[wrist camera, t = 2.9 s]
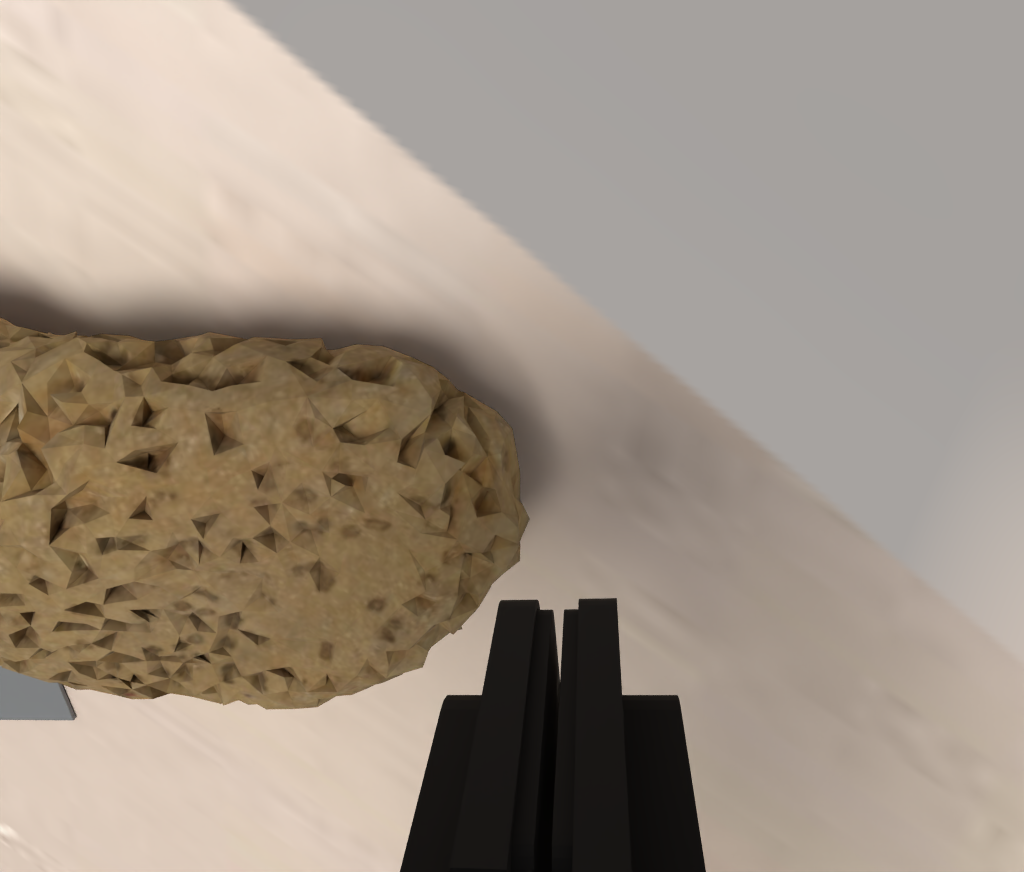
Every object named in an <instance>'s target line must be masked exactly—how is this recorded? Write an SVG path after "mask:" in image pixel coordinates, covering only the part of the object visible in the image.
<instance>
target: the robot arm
mask: <svg viewBox="0 0 1024 872" xmlns="http://www.w3.org/2000/svg"><path fill="white" fill-rule="evenodd" d="M400 872H706V870H705V863H704V857H703V850H702V844H701V837H700V831H699V824H698V818H697V811H696V804H695V798H694V791H693V785H692V778H691V772H690V765H689V759H688V752H687V746H686V739H685V733H684V726H683V720H682V713H681V707H680V702H679V698H678V695H622V686H621V668H620V650H619V632H618V613H617V598H610V599H579V607H578V609H571V610H564V622H563V641H562V660H561V679H560V677H559V666H558V655H557V644H556V633H555V622H554V613H553V610H540V606H539V601H538V600H501V601H500V603H499V606H498V612H497V617H496V622H495V628H494V633H493V638H492V644H491V649H490V654H489V660H488V665H487V670H486V676H485V681H484V686H483V692H482V695H447V696H446V698H445V699H444V701H443V704H442V707H441V711H440V715H439V719H438V723H437V727H436V731H435V735H434V739H433V743H432V747H431V751H430V755H429V759H428V763H427V767H426V771H425V774H424V778H423V782H422V786H421V790H420V794H419V798H418V802H417V806H416V810H415V814H414V818H413V822H412V826H411V830H410V834H409V838H408V842H407V846H406V850H405V854H404V858H403V862H402V866H401V870H400Z"/></svg>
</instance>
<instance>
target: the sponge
mask: <svg viewBox="0 0 1024 872" xmlns="http://www.w3.org/2000/svg"><path fill="white" fill-rule="evenodd" d="M528 522H529V517H528V515H527V513H526V511H525V509H524V507H523V505H522V503H521V502H520V470H519V463H518V458H517V452H516V447H515V441H514V435H513V430H512V428H511V427H510V426H509V424H508V423H507V422H506V421H505V420H504V419H503V418H502V417H501V416H500V414H499V413H498V412H497V411H495V410H493V409H492V408H490V407H488V406H487V405H485V404H483V403H481V402H480V401H478V400H476V399H475V398H473V397H471V396H470V395H468V394H466V393H464V392H461V391H458V390H457V389H456V388H455V387H454V385H453V384H452V383H451V382H450V381H449V380H448V379H447V378H446V377H445V376H443V375H442V374H441V373H440V372H438V371H437V370H436V369H435V368H433V367H432V366H430V365H428V364H425V363H423V362H421V361H419V360H416V359H414V358H412V357H410V356H407V355H405V354H402V353H400V352H397V351H394V350H392V349H389V348H387V347H384V346H373V345H360V344H355V345H352V346H348V347H344V348H340V349H337V350H326V348H325V345H324V343H323V340H322V338H313V339H279V338H261V337H253V338H250V339H243V338H238V337H233V336H228V335H223V334H217V333H212V332H208V333H205V334H202V335H198V336H192V337H185V338H179V339H172V340H164V341H156V342H154V341H146V340H142V339H138V338H135V337H132V336H125V335H110V334H98V335H93V336H90V337H88V336H77V331H75V332H72V333H69V334H66V335H55V334H52V333H50V332H48V334H47V333H43V332H39V331H35V330H31V329H27V328H23V327H17V326H15V325H13V324H12V323H10V322H9V321H7V320H5V319H2V318H0V666H2V668H5V669H8V670H11V671H14V672H17V673H20V674H23V675H26V676H29V677H32V678H36V679H39V680H42V681H45V682H48V683H60V684H63V685H66V686H68V687H71V688H74V689H76V690H83V689H91V690H95V691H99V692H104V693H108V694H113V695H118V696H122V697H126V698H130V699H154V698H157V697H160V696H163V695H166V694H170V693H172V694H179V695H185V696H191V697H196V698H200V699H204V700H208V701H212V702H216V703H220V704H222V703H223V705H226V704H229V703H231V702H234V701H237V700H240V701H242V702H244V703H246V704H248V705H250V704H258V705H260V706H262V707H263V708H265V709H299V708H311V707H318V706H320V705H322V704H323V703H325V702H327V701H329V700H330V699H332V698H334V697H335V696H342V695H352V694H355V693H357V692H359V691H362V690H364V689H366V688H369V687H371V686H373V685H375V684H379V683H383V682H385V681H388V680H390V679H392V678H395V677H397V676H399V675H402V674H403V673H405V672H408V671H412V670H415V669H418V668H421V667H423V665H424V662H425V660H426V657H427V654H428V651H429V650H430V648H431V647H432V646H433V645H434V644H436V643H437V642H438V641H439V640H441V639H442V638H443V637H445V636H446V635H447V634H448V633H452V634H454V633H455V632H456V631H457V630H460V629H462V627H461V626H462V625H463V623H464V622H465V621H466V620H467V619H468V618H469V617H470V616H471V615H472V614H473V613H474V612H475V611H476V610H477V609H478V607H479V606H480V604H481V602H482V601H483V599H484V597H485V596H486V594H487V592H488V591H489V589H490V587H491V585H492V583H493V582H495V581H496V580H497V579H498V578H499V577H500V576H501V575H502V574H503V573H505V572H506V571H507V570H508V569H510V568H511V567H512V566H514V565H515V564H516V563H517V562H519V561H520V540H521V537H522V535H523V533H524V531H525V528H526V526H527V524H528Z"/></svg>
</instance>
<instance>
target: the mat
mask: <svg viewBox="0 0 1024 872" xmlns="http://www.w3.org/2000/svg"><path fill="white" fill-rule="evenodd" d="M75 718H76V716H75V714H74V712H73V709H72V707H71V704H70V702H69V700H68V697H67V695H66V693H65V690H64V688H63V685H62V684H60V683H48V682H45V681H42V680H39V679H36V678H32V677H29V676H26V675H23V674H20V673H17V672H14V671H11V670H8V669H5V668H2V666H0V720H74V719H75Z"/></svg>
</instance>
